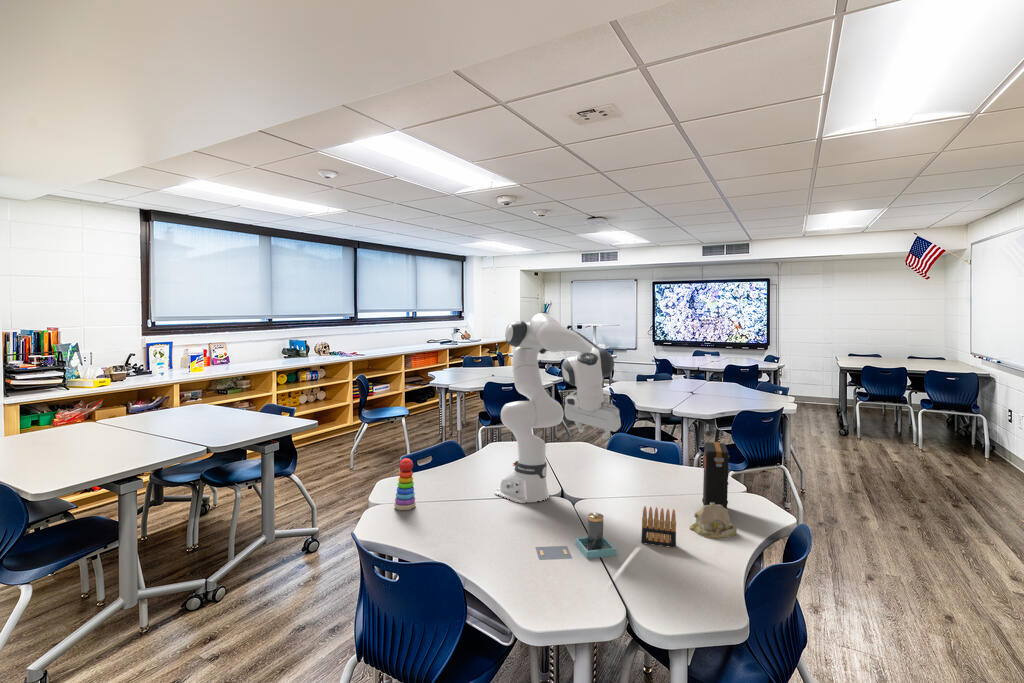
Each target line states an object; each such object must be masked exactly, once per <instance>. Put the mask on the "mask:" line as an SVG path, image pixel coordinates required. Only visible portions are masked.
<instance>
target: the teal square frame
mask: <svg viewBox="0 0 1024 683" xmlns="http://www.w3.org/2000/svg"><path fill="white" fill-rule="evenodd" d="M574 543H575V544H574V545H575V547H577V550H579V551H580V553H582V555H583V556H584V557H585V558H586V560H587V559H596V558H597V559H598V558H604V557H613V556H614V557H615V556H616V555H617V548H616V547H615V546H614V545H613V544H612V543H611V542H610V541H609V540H608V539H607V538H606V537H605V535H603V547H604V548H603V549H599V550H590V551H588V549H587V548H586V547H585V545H588V536H582V537H575V539H574Z"/></svg>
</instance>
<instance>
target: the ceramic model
mask: <svg viewBox="0 0 1024 683" xmlns="http://www.w3.org/2000/svg"><path fill="white" fill-rule="evenodd" d="M693 517H694V518H695V522H694V523H692V525H690V526H689V529H690V530H691V531H692V532H694V531H695V532H694V533H695V534H697V535H698V534H699V536H700V535H701V537H703V536H704V538H707V537H709V538H708V539H722V538H721V537H725V538H729V537H728V536H732V537H734V536H736V533H737V531H738V530H737V527H736V526H735V525H734V524H733V523H731V518H730V514H729V511H728V508H727V509H725V508H724V507H723V506H722V505H715V503H714V502H712V503H711V502H710V505H705V506H704V505H703V506H702V507H700V508H699V509H698V510H697V511H695V513H694V515H693ZM733 535H734V536H733Z"/></svg>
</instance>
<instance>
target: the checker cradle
mask: <svg viewBox="0 0 1024 683" xmlns="http://www.w3.org/2000/svg"><path fill="white" fill-rule="evenodd" d="M535 550H536V554H537V557H538V560H539V561H542V560H545V561H546V560H568V559H569V560H570V559H571V560H572V559H573V556H572V554H571V552H570V549H569V548H568V546H567V545H555V546H554V545H552V546H550V545H549V546H535Z"/></svg>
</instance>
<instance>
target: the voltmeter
mask: <svg viewBox="0 0 1024 683" xmlns="http://www.w3.org/2000/svg"><path fill="white" fill-rule="evenodd" d="M703 450H704V451H703V452H704V454H703V486H702V487H703V489H702V493H703V494H702V500H701V502H702V504H703V506H705V505H710V502H711V503H712V502H714V503H715V505H722V506H723V507H724V508H725V509H727V510H728V504H729V500H728V488H729V484H730V483H729V459H730V454H729V450H728V448H727V445H726V443H724V442H722V443H720V441H719V442H718V441H713V442H708V441H707V442H705V443H704V445H703Z"/></svg>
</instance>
